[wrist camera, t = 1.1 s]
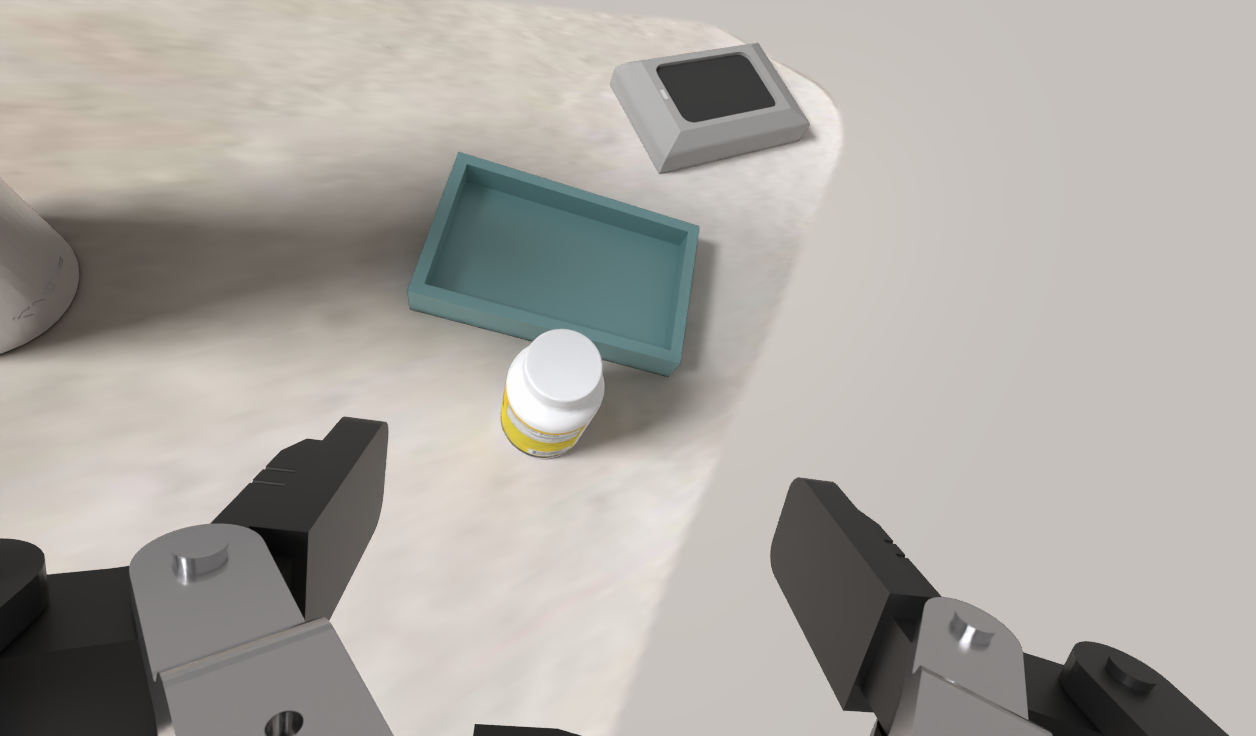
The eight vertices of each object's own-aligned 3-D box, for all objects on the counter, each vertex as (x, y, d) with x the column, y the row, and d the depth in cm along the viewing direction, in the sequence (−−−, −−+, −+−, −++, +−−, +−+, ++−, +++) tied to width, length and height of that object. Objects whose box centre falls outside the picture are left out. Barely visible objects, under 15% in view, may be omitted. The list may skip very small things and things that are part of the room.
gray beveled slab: (817, 114, 52) (671, 146, 46) (795, 143, 55) (657, 177, 49) (764, 31, 54) (619, 52, 48) (746, 65, 57) (608, 88, 52)
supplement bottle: (539, 365, 40) (562, 296, 32) (599, 419, 40) (639, 365, 31) (480, 420, 38) (487, 362, 29) (543, 478, 38) (569, 438, 29)
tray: (409, 309, 39) (407, 291, 37) (458, 175, 44) (458, 151, 42) (668, 376, 42) (680, 363, 40) (687, 244, 47) (699, 226, 45)
